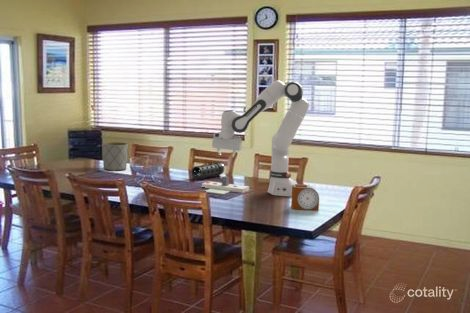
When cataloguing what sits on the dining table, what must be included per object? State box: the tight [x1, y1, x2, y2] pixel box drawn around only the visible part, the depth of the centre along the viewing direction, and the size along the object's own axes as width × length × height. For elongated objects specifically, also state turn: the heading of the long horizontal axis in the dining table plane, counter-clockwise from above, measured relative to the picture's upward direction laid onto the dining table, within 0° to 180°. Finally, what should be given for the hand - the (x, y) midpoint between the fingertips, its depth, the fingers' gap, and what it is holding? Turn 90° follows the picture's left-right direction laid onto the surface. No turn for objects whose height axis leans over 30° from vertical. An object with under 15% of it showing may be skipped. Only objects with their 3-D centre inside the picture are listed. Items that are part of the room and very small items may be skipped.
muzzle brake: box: [191, 162, 226, 181], centre depth 388 cm, size 10×28×10 cm, turn 144°
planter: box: [101, 141, 129, 172], centre depth 408 cm, size 19×19×20 cm
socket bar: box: [201, 180, 250, 194], centre depth 351 cm, size 30×10×3 cm, turn 65°
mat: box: [205, 188, 231, 195], centre depth 340 cm, size 14×9×1 cm, turn 65°
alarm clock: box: [290, 183, 320, 211], centre depth 303 cm, size 15×8×14 cm, turn 90°
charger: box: [221, 176, 230, 186], centre depth 350 cm, size 3×4×8 cm
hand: (226, 156), depth 348 cm, fingers open, 8 cm apart
